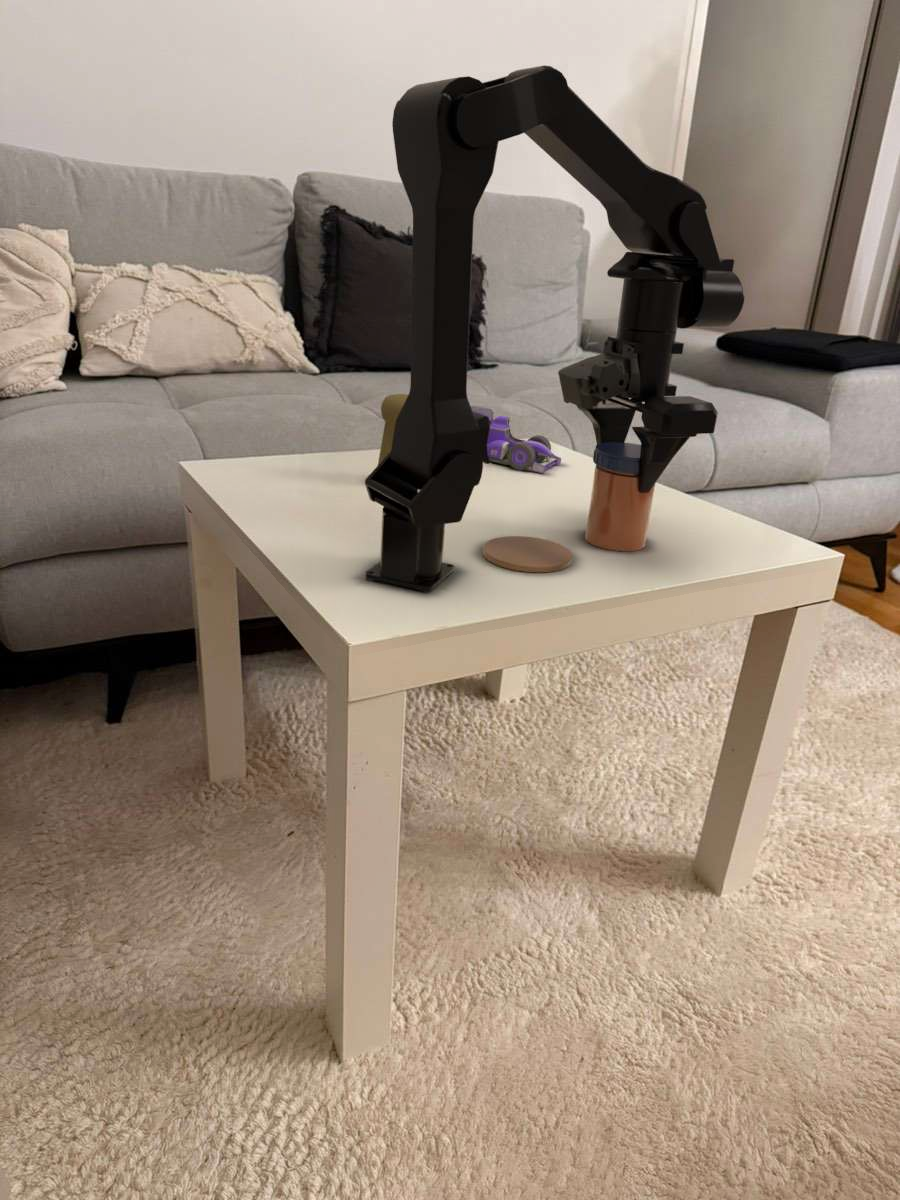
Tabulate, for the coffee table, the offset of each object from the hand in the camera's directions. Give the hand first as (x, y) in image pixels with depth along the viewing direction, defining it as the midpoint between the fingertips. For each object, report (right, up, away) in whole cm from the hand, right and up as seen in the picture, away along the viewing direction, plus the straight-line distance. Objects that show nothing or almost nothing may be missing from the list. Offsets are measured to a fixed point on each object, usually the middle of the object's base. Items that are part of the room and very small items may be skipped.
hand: (624, 482), depth 90 cm
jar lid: (0, +3, -1) cm, 3 cm away
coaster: (-11, -8, -4) cm, 14 cm away
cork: (-25, +2, +18) cm, 31 cm away
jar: (-1, -6, +2) cm, 7 cm away
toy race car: (-11, +8, +33) cm, 35 cm away
